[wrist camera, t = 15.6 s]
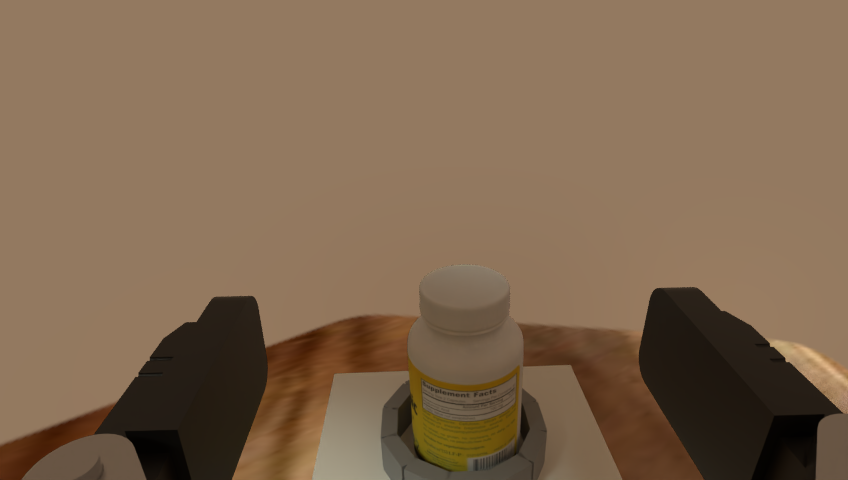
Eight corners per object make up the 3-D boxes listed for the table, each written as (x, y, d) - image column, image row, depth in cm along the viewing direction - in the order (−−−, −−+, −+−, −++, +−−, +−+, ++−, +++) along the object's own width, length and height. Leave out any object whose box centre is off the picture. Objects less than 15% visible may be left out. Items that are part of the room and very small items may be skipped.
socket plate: (293, 593, 21) (283, 547, 20) (335, 383, 33) (331, 347, 32) (658, 578, 21) (669, 531, 20) (569, 374, 33) (573, 338, 32)
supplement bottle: (435, 403, 30) (431, 250, 26) (528, 427, 28) (539, 266, 24) (395, 474, 25) (383, 302, 21) (503, 510, 23) (511, 327, 19)
